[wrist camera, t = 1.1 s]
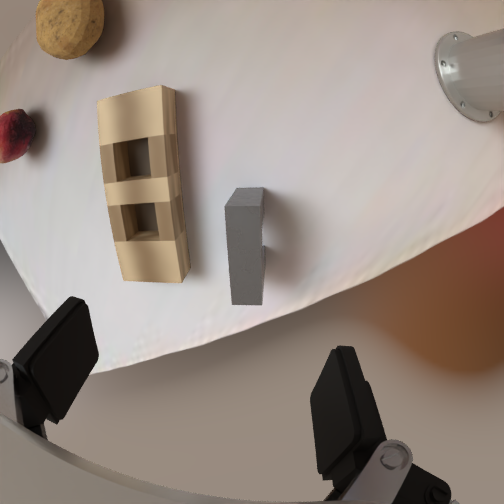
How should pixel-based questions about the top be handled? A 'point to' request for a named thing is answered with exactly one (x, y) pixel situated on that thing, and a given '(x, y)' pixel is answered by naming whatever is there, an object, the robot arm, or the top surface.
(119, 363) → the top surface
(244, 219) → the gray pronged block
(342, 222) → the top surface
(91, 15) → the potato
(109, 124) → the wooden block with holes
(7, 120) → the fruit
